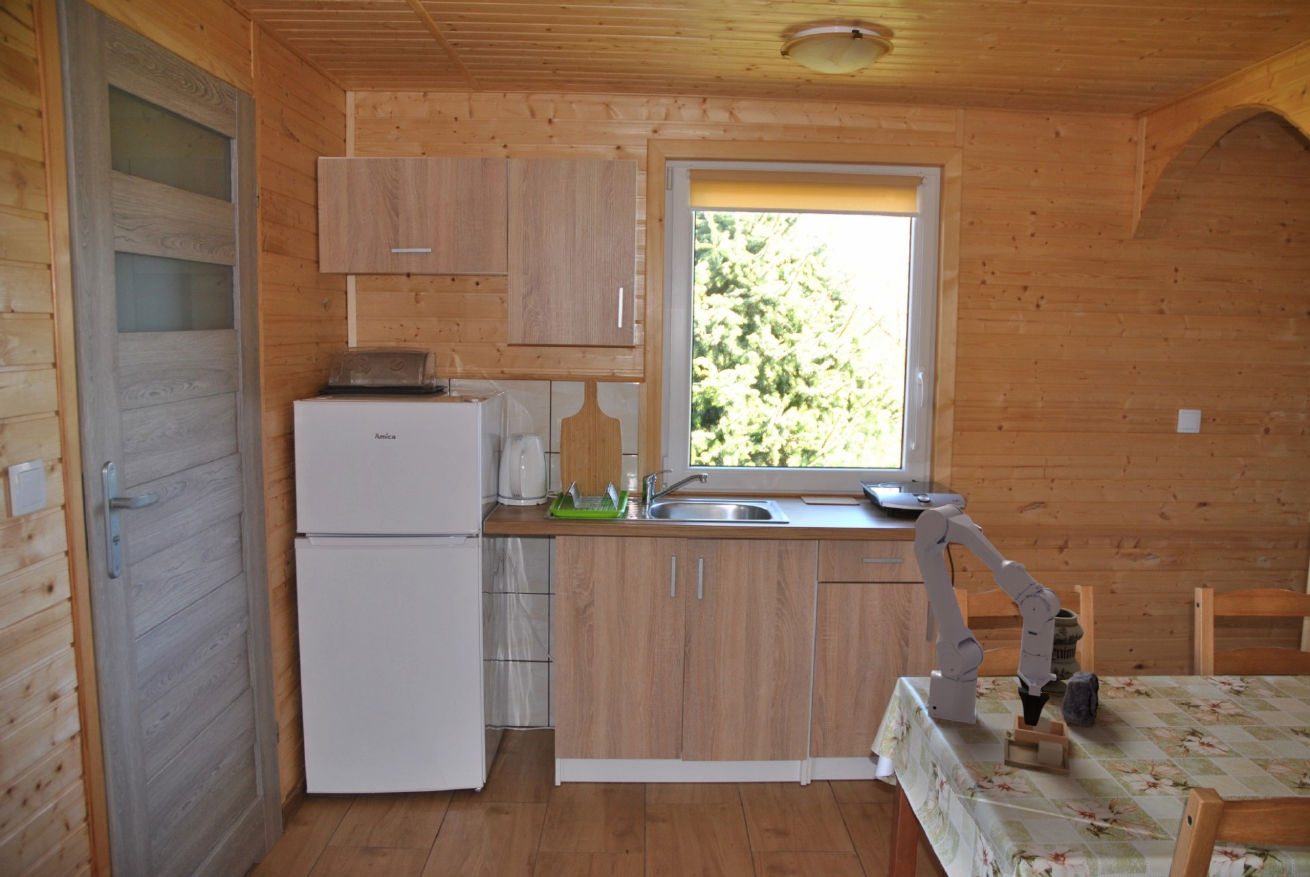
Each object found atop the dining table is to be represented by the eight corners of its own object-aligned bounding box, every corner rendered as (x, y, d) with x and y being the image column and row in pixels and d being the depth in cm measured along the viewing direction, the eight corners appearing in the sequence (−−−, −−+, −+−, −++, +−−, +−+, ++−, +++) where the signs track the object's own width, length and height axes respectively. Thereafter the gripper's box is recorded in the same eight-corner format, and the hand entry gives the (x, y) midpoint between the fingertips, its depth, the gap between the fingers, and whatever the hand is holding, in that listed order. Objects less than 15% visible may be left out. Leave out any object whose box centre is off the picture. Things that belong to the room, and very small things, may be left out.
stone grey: (1034, 721, 179) (1050, 724, 178) (1033, 715, 182) (1050, 718, 181) (1032, 740, 180) (1049, 743, 179) (1032, 734, 183) (1048, 737, 182)
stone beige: (1038, 762, 171) (1039, 746, 171) (1037, 755, 174) (1038, 740, 174) (1061, 766, 170) (1062, 750, 170) (1060, 759, 173) (1061, 744, 172)
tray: (1004, 766, 170) (1004, 759, 170) (1004, 743, 179) (1004, 737, 179) (1068, 778, 166) (1069, 771, 166) (1065, 754, 176) (1066, 748, 175)
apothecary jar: (1066, 703, 200) (1073, 623, 198) (1012, 686, 208) (1018, 610, 206) (1085, 688, 209) (1093, 612, 207) (1032, 673, 217) (1039, 599, 215)
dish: (1013, 744, 179) (1015, 729, 179) (1013, 729, 186) (1014, 714, 186) (1067, 754, 176) (1068, 738, 175) (1064, 738, 183) (1066, 722, 182)
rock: (1088, 733, 185) (1092, 684, 184) (1059, 725, 189) (1063, 676, 188) (1100, 717, 193) (1105, 670, 192) (1072, 710, 197) (1076, 663, 196)
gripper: (1060, 667, 171) (1053, 736, 173) (1056, 642, 185) (1050, 706, 186) (1020, 660, 174) (1013, 729, 175) (1019, 637, 187) (1013, 700, 189)
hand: (1030, 717), depth 181 cm, fingers open, 7 cm apart
